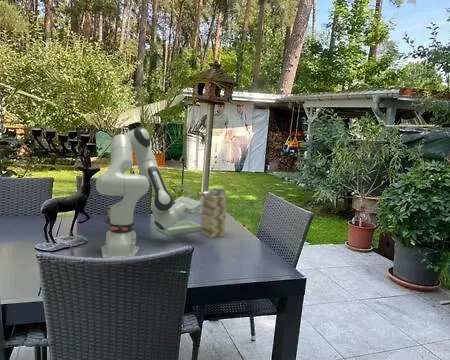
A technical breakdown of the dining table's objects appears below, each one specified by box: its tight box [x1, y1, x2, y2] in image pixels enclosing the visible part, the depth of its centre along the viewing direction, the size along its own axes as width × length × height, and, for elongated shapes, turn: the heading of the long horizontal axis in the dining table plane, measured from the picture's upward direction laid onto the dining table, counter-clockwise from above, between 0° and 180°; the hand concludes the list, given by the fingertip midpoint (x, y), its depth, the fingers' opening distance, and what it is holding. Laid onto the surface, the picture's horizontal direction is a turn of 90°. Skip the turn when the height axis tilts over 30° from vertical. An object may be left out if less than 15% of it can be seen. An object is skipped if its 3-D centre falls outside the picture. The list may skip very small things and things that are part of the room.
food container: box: [106, 205, 113, 223], centre depth 234 cm, size 12×6×10 cm, turn 47°
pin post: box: [200, 187, 228, 239], centre depth 225 cm, size 10×10×29 cm
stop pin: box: [196, 190, 218, 198], centre depth 220 cm, size 18×2×2 cm, turn 130°
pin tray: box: [156, 220, 202, 237], centre depth 229 cm, size 24×14×4 cm, turn 130°
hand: (198, 196), depth 215 cm, fingers open, 8 cm apart
